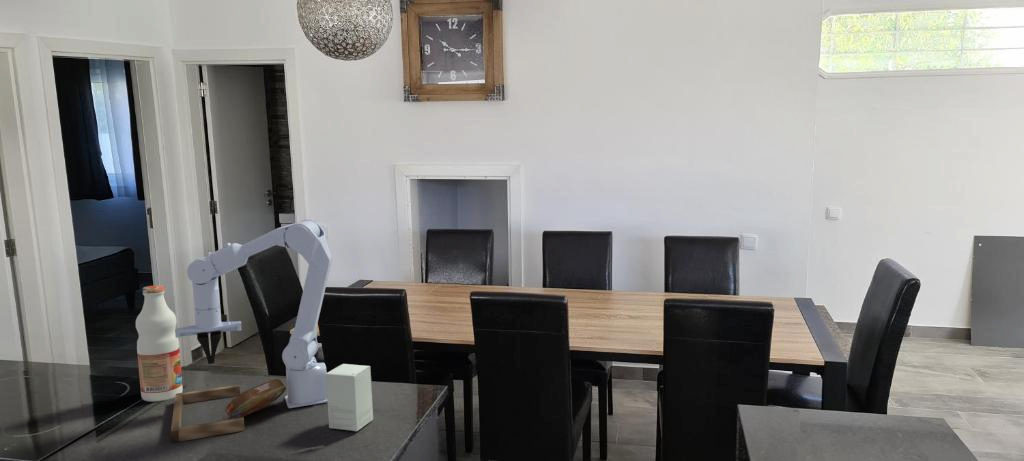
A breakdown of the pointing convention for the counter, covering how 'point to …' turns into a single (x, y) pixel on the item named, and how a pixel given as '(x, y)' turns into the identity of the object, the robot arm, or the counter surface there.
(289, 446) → the counter surface
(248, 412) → the tin
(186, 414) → the counter surface
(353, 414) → the supplement box
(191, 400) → the wooden u-shaped frame
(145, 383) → the fruit juice
